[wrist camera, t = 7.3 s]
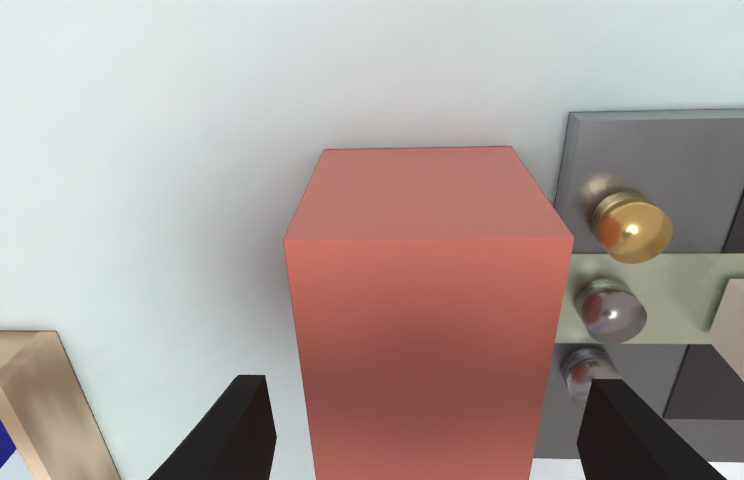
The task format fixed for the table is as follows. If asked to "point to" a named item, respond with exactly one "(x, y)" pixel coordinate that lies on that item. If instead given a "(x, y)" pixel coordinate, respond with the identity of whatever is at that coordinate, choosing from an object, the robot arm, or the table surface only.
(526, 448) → the cap
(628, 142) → the panel
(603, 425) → the robot arm
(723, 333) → the block
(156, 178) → the table surface
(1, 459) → the blue curved cradle block
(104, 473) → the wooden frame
